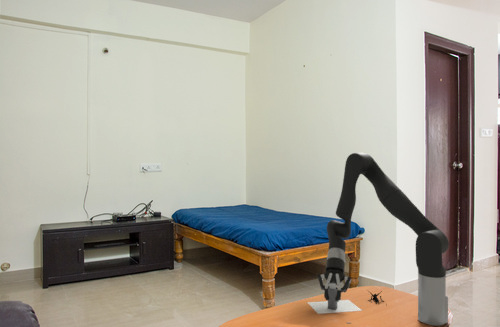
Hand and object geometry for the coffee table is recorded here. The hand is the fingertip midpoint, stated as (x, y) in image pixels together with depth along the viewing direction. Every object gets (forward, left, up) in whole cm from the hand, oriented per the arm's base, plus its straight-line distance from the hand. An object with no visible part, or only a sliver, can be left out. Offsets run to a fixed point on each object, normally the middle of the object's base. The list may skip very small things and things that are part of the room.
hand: (332, 299), depth 149 cm
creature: (-22, -5, -5) cm, 23 cm away
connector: (-1, -2, -4) cm, 4 cm away
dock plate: (-2, -3, -5) cm, 6 cm away
